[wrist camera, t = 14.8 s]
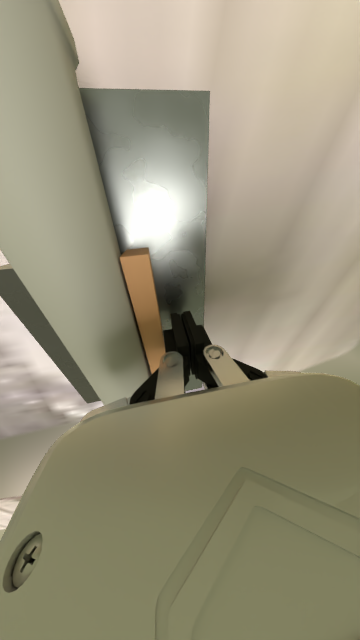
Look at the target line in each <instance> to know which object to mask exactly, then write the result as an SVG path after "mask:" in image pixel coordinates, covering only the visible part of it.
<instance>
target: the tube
mask: <svg viewBox="0 0 360 640" xmlns="http://www.w3.org/2000/svg"><path fill="white" fill-rule="evenodd" d="M78 64H79V60H78V55H77V51H76V47H75V42H74V38H73V36H72V33H71V31H70V28H69V26H68V23H67V21H66V18H65V16H64V13H63V11H62V8H61V6H60V3H59V1H58V0H0V250H1V251H2V253H3V254H4V256H5V257H6V259H7V260H8V262H9V263H10V265H11V266H12V268H13V269H14V271H15V272H16V274H17V275H18V277H19V278H20V280H21V281H22V283H23V284H24V286H25V287H26V289H27V290H28V292H29V293H30V295H31V296H32V298H33V299H34V301H35V302H36V304H37V305H38V307H39V308H40V310H41V311H42V313H43V314H44V316H45V317H46V319H47V320H48V322H49V323H50V325H51V326H52V328H53V329H54V331H55V332H56V334H57V335H58V337H59V338H60V340H61V341H62V343H63V344H64V346H65V347H66V349H67V350H68V352H69V353H70V355H71V356H72V358H73V359H74V361H75V362H76V364H77V365H78V367H79V368H80V370H81V371H82V373H83V374H84V376H85V377H86V379H87V380H88V382H89V383H90V385H91V386H92V388H93V389H94V391H95V392H96V394H97V395H98V397H99V398H100V399H101V401H102V402H103V404H104V405H107V404H109V403H112V402H114V401H117V400H119V399H122V398H124V397H126V398H129V397H131V396H132V395H133V393H134V392H135V391H136V390H137V389H138V388H139V387H140V386H141V385H142V384H143V383H144V382H145V381H146V380H147V379H148V378H149V377H150V376H151V372H150V368H149V364H148V360H147V356H146V352H145V348H144V344H143V341H142V337H141V333H140V330H139V326H138V322H137V319H136V315H135V312H134V308H133V304H132V301H131V297H130V294H129V290H128V286H127V283H126V279H125V276H124V272H123V268H122V265H121V261H120V256H121V253H120V249H119V246H118V242H117V238H116V234H115V230H114V226H113V222H112V218H111V214H110V210H109V206H108V202H107V198H106V194H105V190H104V186H103V182H102V178H101V174H100V170H99V166H98V162H97V158H96V155H95V151H94V147H93V143H92V139H91V135H90V131H89V127H88V123H87V119H86V115H85V111H84V107H83V103H82V99H81V95H80V91H79V87H78V83H77V77H76V72H75V70H76V68H77V66H78Z"/></svg>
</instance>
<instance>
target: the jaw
mask: <svg viewBox="0 0 360 640" xmlns="http://www.w3.org/2000/svg"><path fill="white" fill-rule="evenodd" d="M120 261H121V265H122V268H123V272H124V276H125V279H126V283H127V286H128V290H129V294H130V297H131V301H132V304H133V308H134V312H135V315H136V319H137V322H138V326H139V330H140V333H141V337H142V341H143V344H144V348H145V351H146V355H147V359H148V362H149V366H150V369H151V373H152V374H153V373H154V372H155V371H156V370H157V369H158V368H159V364H160V359H161V357H162V356H163V355H164V354H165V343H164V336H163V330H162V324H161V318H160V312H159V307H158V301H157V295H156V289H155V283H154V277H153V271H152V265H151V259H150V253H149V248H139V249H128V250H126V251H125V252H124V253H123V254H122V255H121V256H120Z"/></svg>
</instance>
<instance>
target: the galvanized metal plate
mask: <svg viewBox="0 0 360 640" xmlns="http://www.w3.org/2000/svg"><path fill="white" fill-rule="evenodd" d="M79 91H80V95H81V99H82V103H83V107H84V111H85V115H86V119H87V123H88V127H89V131H90V135H91V139H92V143H93V147H94V151H95V155H96V158H97V162H98V166H99V170H100V174H101V178H102V182H103V186H104V190H105V194H106V198H107V202H108V206H109V210H110V214H111V218H112V222H113V226H114V230H115V234H116V238H117V242H118V246H119V249H120V253H121V255H122V254H123V253H124V252H125V251H126V250H128V249H139V248H149V253H150V259H151V265H152V271H153V277H154V283H155V289H156V295H157V301H158V307H159V312H160V318H161V324H162V330H168V329H172V325H171V317H170V313H177V314H180V317H181V314H182V313H183V312H184V311H190V312H191V314H192V316H193V319H194V321H195V323H196V325H202V326H203V327H204V290H205V253H206V215H207V178H208V140H209V103H210V91H185V90H139V89H93V88H79ZM0 296H1V297H2V298H3V300H4V301H5V302H6V303H7V305H8V306H9V307H10V308H11V310H12V311H13V312H14V313H15V315H16V316H17V317H18V318H19V319H20V321H21V322H22V323H23V324H24V326H25V327H26V328H27V329H28V331H29V332H30V333H31V334H32V336H33V337H34V338H35V339H36V341H37V342H38V343H39V344H40V345H41V347H42V348H43V349H44V350H45V352H46V353H47V354H48V355H49V357H50V358H51V359H52V360H53V362H54V363H55V364H56V365H57V367H58V368H59V369H60V370H61V371H62V373H63V374H64V375H65V376H66V378H67V379H68V380H69V381H70V383H71V384H72V385H73V386H74V388H75V389H76V390H77V391H78V392H79V394H80V395H81V396H82V397H83V399H84V400H85V401H86V402H87V403H92V402H96V401H101V399H100V398H99V397H98V395H97V394H96V392H95V391H94V389H93V388H92V386H91V385H90V383H89V382H88V380H87V379H86V377H85V376H84V374H83V373H82V371H81V370H80V368H79V367H78V365H77V364H76V362H75V361H74V359H73V358H72V356H71V355H70V353H69V352H68V350H67V349H66V347H65V346H64V344H63V343H62V341H61V340H60V338H59V337H58V335H57V334H56V332H55V331H54V329H53V328H52V326H51V325H50V323H49V322H48V320H47V319H46V317H45V316H44V314H43V313H42V311H41V310H40V308H39V307H38V305H37V304H36V302H35V301H34V299H33V298H32V296H31V295H30V293H29V292H28V290H27V289H26V287H25V286H24V284H23V283H22V281H21V280H20V278H19V277H18V275H17V274H16V272H15V271H14V269H13V268H12V266H11V265H10V264H7V265H3V266H0ZM163 336H164V333H163ZM145 352H146V351H145ZM146 356H147V355H146ZM147 360H148V359H147ZM148 364H149V362H148ZM149 368H150V366H149ZM150 372H151V369H150ZM151 375H152V373H151ZM197 388H202V381H201V380H199V379H196V378H195V375H192V373H191V369H190V376H189V382H188V383H187V385H186V386H185V391H188V390H193V389H197Z"/></svg>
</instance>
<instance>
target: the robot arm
mask: <svg viewBox="0 0 360 640" xmlns="http://www.w3.org/2000/svg"><path fill="white" fill-rule="evenodd" d="M170 317H171V325H172V329H168V330H163V333H164V343H165V354H164V355H163V356H162V357H161V359H160V364H159V368H158V369H157V370H156V371H155V372H154V373H153V374H152V375H151V376H150V377H149V378H148V379H147V380H146V381H145V382H144V383H143V384H142V385H141V386H140V387H139V388H138V389H137V390H136V391H135V392H134V393H133V395H132V396H131V397H129V398H126V397H124V398H122V399H119V400H117V401H114V402H112V403H109V404H107V405H104V406H102V407H99V408H97V409H95V410H92V411H90V412H89V413H87V414H86V415H85V416H84V417H83V418H82V420H81V421H80V423H79V424H77V425H75V426H74V427H72V428H71V429H69V430H68V431H67V432H65V433H64V434H63V435H61V436H60V437H59V438H58V439H57V440H56V441H55V442H54V444H53V445H52V446H51V447H50V449H49V450H48V452H47V453H46V454H45V456H44V457H43V459H42V461H41V462H40V464H39V466H38V468H37V469H36V471H35V473H34V475H33V476H32V478H31V480H30V482H29V484H28V486H27V488H26V490H25V492H24V494H23V496H22V498H21V500H20V502H19V504H18V506H17V508H16V510H15V512H14V514H13V516H12V518H11V520H10V522H9V524H8V526H7V528H6V530H5V532H4V534H3V536H2V539H1V541H0V640H360V385H358V384H356V383H354V382H352V381H351V380H348V379H346V378H343V377H339V376H335V375H330V374H323V373H301V372H296V371H265V372H262V371H260V370H258V369H256V368H254V367H251V366H249V365H247V364H244V363H242V362H240V361H237V360H235V359H232V358H231V357H230V356H229V354H228V353H227V352H226V351H225V350H224V349H223V348H222V347H221V346H218V345H212V343H211V341H210V339H209V337H208V335H207V333H206V331H205V329H204V327H203V326H202V325H196V323H195V321H194V319H193V316H192V314H191V312H190V311H184V312H183V313H182V314H181V317H180V314H177V313H170ZM190 369H191V373H192V375H195V378H196V379H199V380H201V381H202V383H203V386H204V388H205V390H201V391H196V392H190V393H185V386H186V385H187V383H188V382H189V376H190Z"/></svg>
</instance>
